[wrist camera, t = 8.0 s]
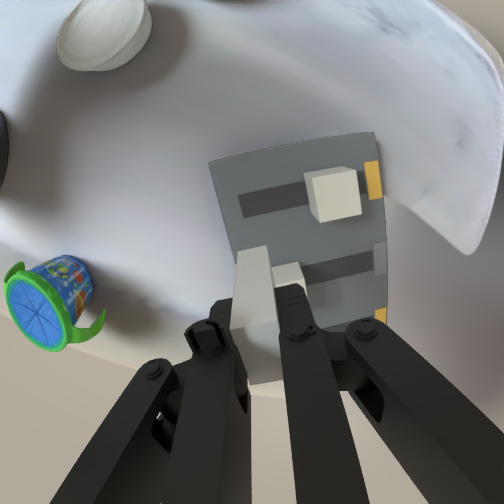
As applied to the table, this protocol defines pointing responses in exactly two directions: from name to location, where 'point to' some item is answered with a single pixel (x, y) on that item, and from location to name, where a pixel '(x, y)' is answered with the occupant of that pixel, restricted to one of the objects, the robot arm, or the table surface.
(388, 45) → the table surface
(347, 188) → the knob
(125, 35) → the ramekin
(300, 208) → the switch panel
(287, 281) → the knob mid
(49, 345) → the snack cup
